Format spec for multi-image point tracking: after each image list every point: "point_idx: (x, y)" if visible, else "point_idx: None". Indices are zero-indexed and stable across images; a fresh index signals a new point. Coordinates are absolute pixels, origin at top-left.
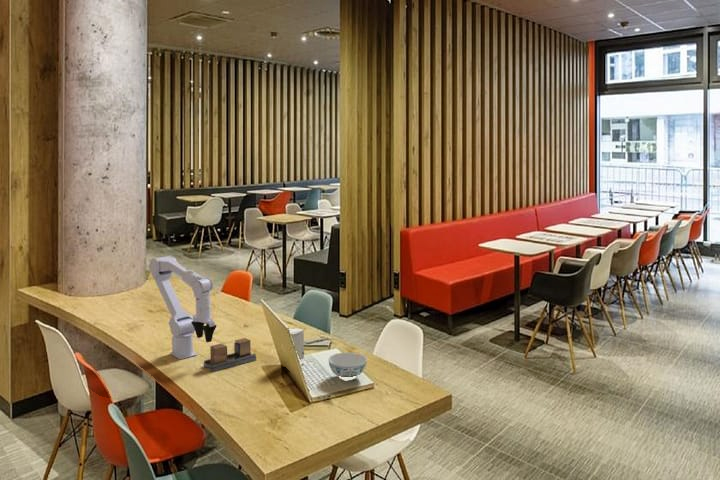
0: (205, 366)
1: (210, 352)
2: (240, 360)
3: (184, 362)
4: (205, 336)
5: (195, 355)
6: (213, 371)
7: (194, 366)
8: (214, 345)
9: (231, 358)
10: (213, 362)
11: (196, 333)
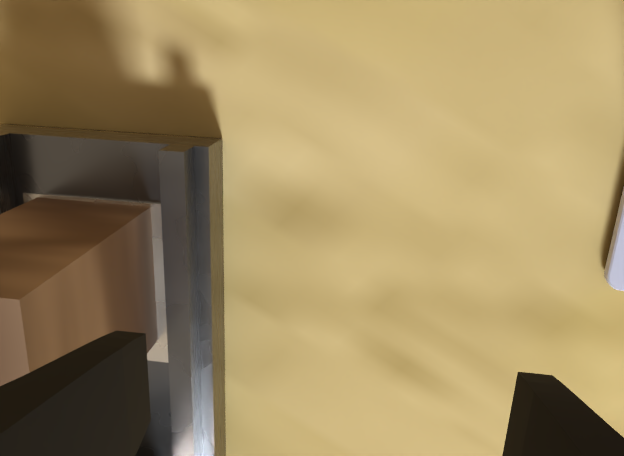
0: (175, 137)
1: (82, 253)
2: None
3: (515, 28)
4: (41, 386)
5: (607, 259)
6: (3, 125)
7: (290, 52)
8: (9, 363)
9: None
10: (72, 207)
11: (577, 425)
